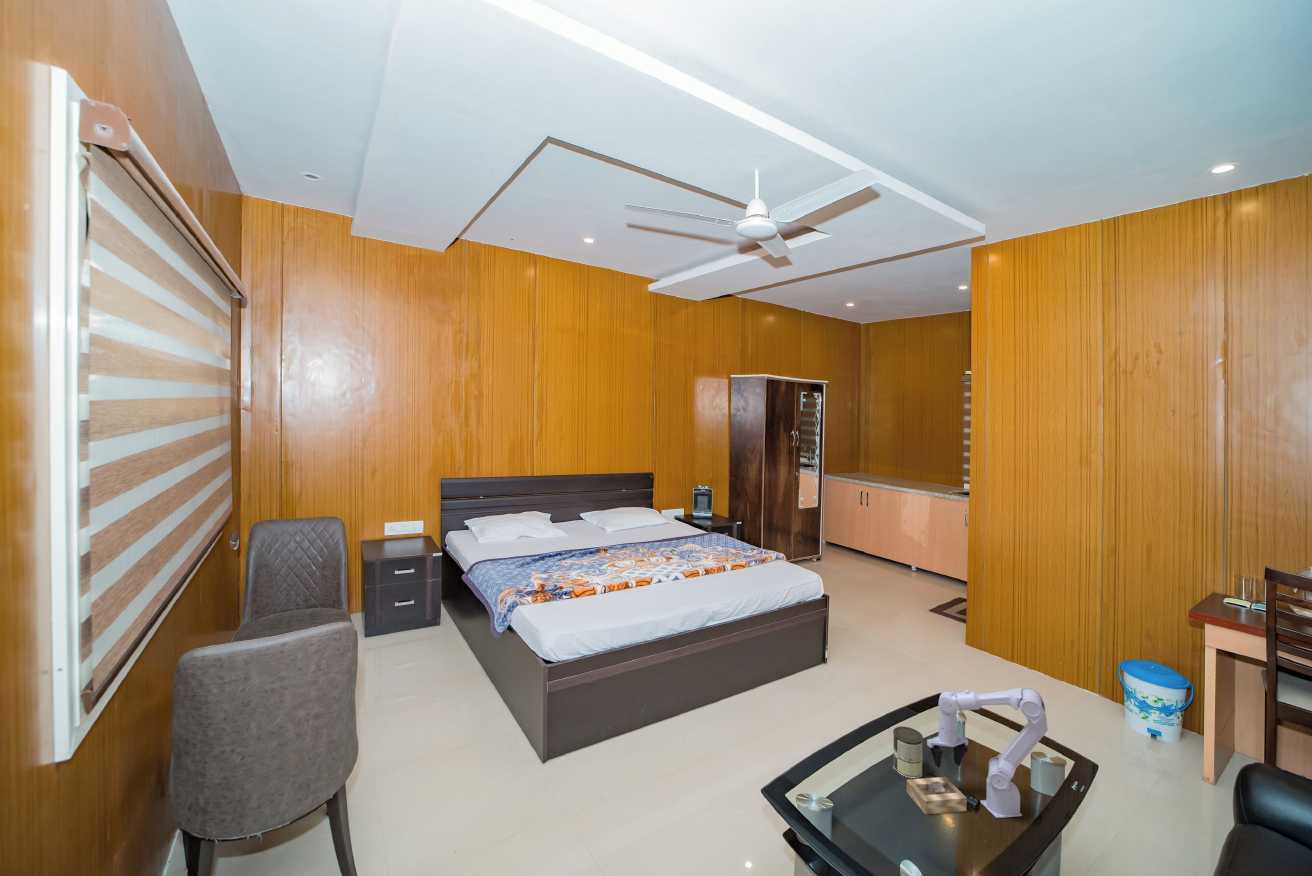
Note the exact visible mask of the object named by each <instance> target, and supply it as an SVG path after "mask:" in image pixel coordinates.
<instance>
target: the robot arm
mask: <svg viewBox="0 0 1312 876" xmlns="http://www.w3.org/2000/svg"><path fill="white" fill-rule="evenodd" d="M937 705H938V708H939V709H938V710H939V712H938V734H937V736H934V737H932V738H928V739H927V740H926V746H927V747H929V750H930V752H931V755H932V757H933V758H932V759H933V761H934V765H935V766H936V767H937V768H940V767H941V762H942V761H941V759H942V754H944V752H943V750H941V748H940V747H941V746H942V747H948V748H949V747H950V748H953V762H954V764H955V765H956V766H958V767H959V766H961V763H962V761H963V758H964V756H965V754H966V753H967V752H968V747H967V746H969V740H968V739H967V738H966V737H965V736H958V717H957V712H959V711H960V712H961V711H964V712H965V711H975V710H980V709H981V708H982V706H1000V705H1001V706H1003V705H1004V706H1005V705H1008V706H1009V707H1010V708H1012V709H1014V710H1016V711H1017V712H1019V709H1020V711H1021V713H1022V714H1023V716H1025V718H1026V719H1027V723H1026V724H1025V725H1024V726H1023V727H1022V729H1021V730H1020V731H1019V733H1018V734H1017V735H1016V737H1015V738H1014V739H1013V740H1012V741H1011V743H1009V745H1008V746H1007V748H1006V749H1005V750H1004V751H1003V752H1002V753H998V755H997V756H996V757H991V758H990V760H989V761H988V774H987V777H986V792H985V793H986V796H985V797H986V799H984V800H983V799H982V800H979V801H980V803H981V805H983V807H984V808H985V809H987V810H988V812H990V813H991V814H992V815H993V817H995V819H1003V818H1004V819H1005V818H1012V817H1013V818H1014V817H1016V818H1017V817H1022V816H1023V814H1022V813H1021V794H1020V791H1019V788H1018V787H1017V785H1016V784H1015V783H1014V782H1012V781H1011V780H1012V778H1013V777H1015V776H1014V775H1015V772H1016V770H1017V768H1018V767H1019V766H1020V764H1021V763H1022V762H1023V761H1024V760H1025V759H1026V757H1027V756H1028V755H1029V754H1030V753H1031V751H1032V750H1033V749H1034V748H1035V746H1036V745H1037V744H1038V743H1040V741H1041V740H1042V738H1043V737H1044V736H1045V734H1047V732H1048V729H1049V728H1048V727H1049V726H1048V721H1047V713H1046V705H1045V701H1044V699H1043V697H1042V696H1041V693H1040V692H1039V691H1037V690H1036V689H1034V688H1032V687H1023V688H1021V687H1016V688H1012V689H1008V690H1001V691H994V692H988V693H987V692H986V693H982V694H981V693H977V692H976V691H973V690H972V691H970V690H969V689H966V690H964V691H963V692H955V691H951V692H950V691H943V692H942V693H940V695H939V699H938V704H937Z"/></svg>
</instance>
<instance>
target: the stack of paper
mask: <svg viewBox="0 0 1312 876" xmlns="http://www.w3.org/2000/svg"><path fill="white" fill-rule="evenodd" d="M934 794H945V789H944V787H943V786H942V783H941V782H938V781H930V782H928V795H934Z"/></svg>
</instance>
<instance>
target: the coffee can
mask: <svg viewBox="0 0 1312 876" xmlns="http://www.w3.org/2000/svg"><path fill="white" fill-rule="evenodd" d="M892 731H893V759H892V760H893V763H892V764H893V765H892V768H893V770H894V769H895V770H896V771H897V772H898V773H899V774H898V773H897V772H896V771H895V770H894V771H895V772H896V773H897V774H898V775H900V774H901V775H900V776H902V775H903V776H902V777H904V776H905V778H907V777H908V778H907V779H912V778H913V779H915V778H916V779H920V778H921V777H922V776H923V742H924V737H923V734H922V733H921V732H920V731H918V730H917V729H915V728H912V727H909V726H896V727H895V728H894V729H893V730H892Z"/></svg>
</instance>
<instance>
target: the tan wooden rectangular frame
mask: <svg viewBox="0 0 1312 876" xmlns="http://www.w3.org/2000/svg"><path fill="white" fill-rule="evenodd" d="M930 781H938V782H941V783H942V786H943V787H944V789H945V794H934V795H928V782H930ZM906 793H907V794H908V796H909V797H910V798H911V799H912V800H913V802H914V803H915V804H916V805H917V806H918V807H919V809H920V810H921V811H922V812H923V813H924V814H925V815H934V814H944V813H945V814H946V813H958V812H967V811H968V810H967V804H968V803H967V801H968V800H967V799H968V798H967V797H966V796H965V795H964V794H963V793H962V791H960V790H959V789H958V787H956V785H954V783H952V782H951V780H949V778H947V777H946V776H940V777H937V776H936V777H927V778H924V777H923V778H916V779H912V778H909V779H906Z"/></svg>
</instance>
